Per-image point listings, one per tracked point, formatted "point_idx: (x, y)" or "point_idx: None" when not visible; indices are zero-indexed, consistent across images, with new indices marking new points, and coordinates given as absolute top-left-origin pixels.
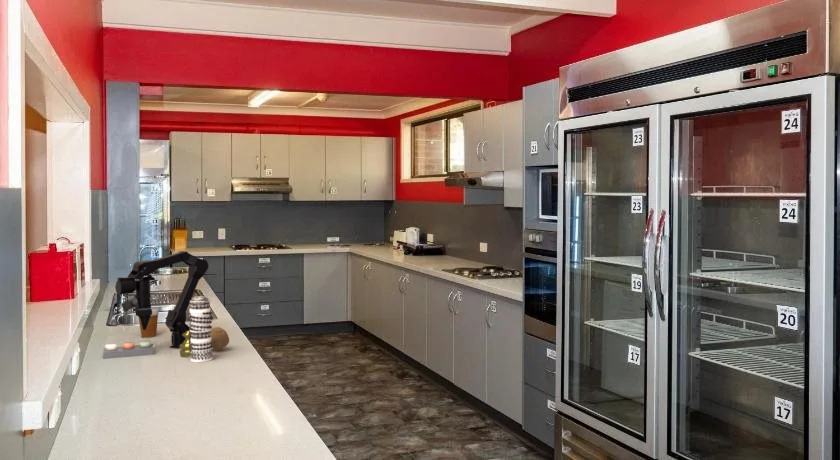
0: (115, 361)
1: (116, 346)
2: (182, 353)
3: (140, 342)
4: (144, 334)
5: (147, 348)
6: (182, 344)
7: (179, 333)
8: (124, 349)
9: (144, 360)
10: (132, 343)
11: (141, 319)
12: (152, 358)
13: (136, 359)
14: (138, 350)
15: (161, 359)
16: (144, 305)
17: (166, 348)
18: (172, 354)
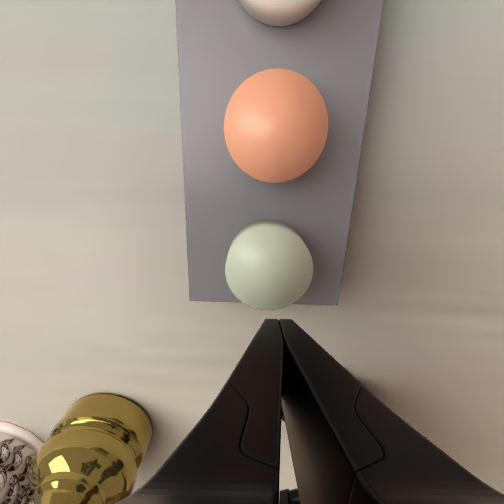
0: (58, 29)
1: (255, 4)
2: (66, 415)
3: (252, 235)
4: None
5: (198, 267)
6: (48, 464)
7: (280, 498)
8: None
9: (44, 227)
10: (239, 167)
11: (190, 452)
12: (88, 272)
13: (86, 182)
14: (185, 205)
15: (49, 312)
16: None
17: (327, 350)
18: (157, 365)
